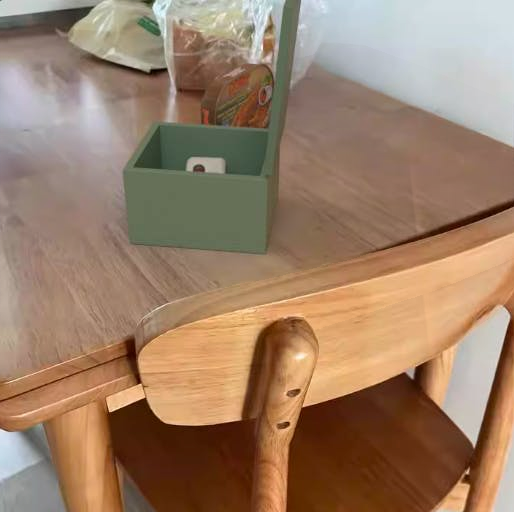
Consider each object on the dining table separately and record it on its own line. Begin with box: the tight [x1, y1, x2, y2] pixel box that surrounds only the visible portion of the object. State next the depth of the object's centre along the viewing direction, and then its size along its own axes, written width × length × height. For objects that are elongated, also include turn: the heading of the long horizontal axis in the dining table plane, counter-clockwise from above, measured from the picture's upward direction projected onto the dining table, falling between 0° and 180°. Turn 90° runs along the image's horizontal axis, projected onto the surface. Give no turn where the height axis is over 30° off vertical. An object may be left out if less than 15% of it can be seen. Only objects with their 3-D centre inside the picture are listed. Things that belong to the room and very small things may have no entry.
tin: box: [200, 63, 275, 128], centre depth 93 cm, size 15×3×8 cm, turn 151°
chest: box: [122, 120, 281, 255], centre depth 75 cm, size 14×13×8 cm
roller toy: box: [186, 157, 227, 174], centre depth 75 cm, size 4×6×6 cm
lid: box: [264, 0, 302, 176], centre depth 67 cm, size 14×13×1 cm
